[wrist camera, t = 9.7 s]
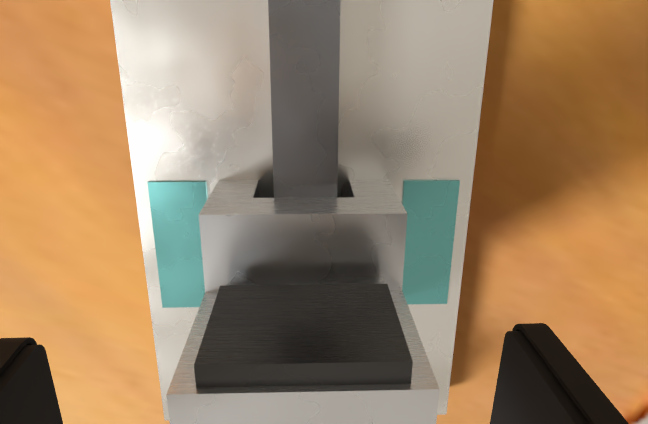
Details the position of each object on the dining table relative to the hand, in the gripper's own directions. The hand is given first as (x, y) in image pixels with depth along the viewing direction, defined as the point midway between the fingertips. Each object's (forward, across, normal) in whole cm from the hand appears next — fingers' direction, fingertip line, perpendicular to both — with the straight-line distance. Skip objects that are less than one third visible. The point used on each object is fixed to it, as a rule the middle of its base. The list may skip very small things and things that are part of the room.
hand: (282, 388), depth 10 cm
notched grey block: (+8, -1, +1) cm, 9 cm away
